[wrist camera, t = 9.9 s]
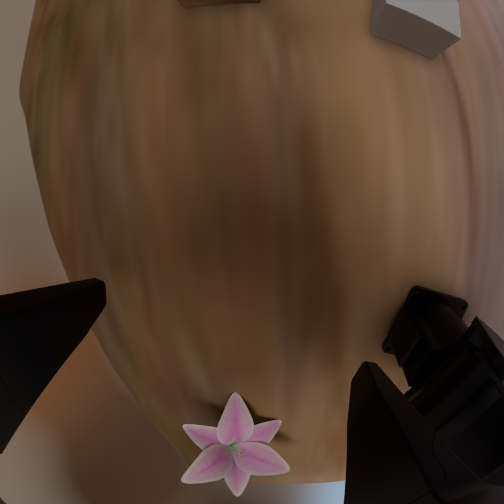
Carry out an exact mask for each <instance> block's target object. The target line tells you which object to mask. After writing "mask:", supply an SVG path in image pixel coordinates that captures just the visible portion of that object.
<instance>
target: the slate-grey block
mask: <svg viewBox="0 0 504 504" xmlns="http://www.w3.org/2000/svg"><path fill="white" fill-rule="evenodd" d="M370 34H371V35H374V36H377V37H380V38H383V39H385V40H388V41H391V42H393V43H396V44H398V45H401V46H403V47H405V48H408V49H410V50H412V51H414V52H417V53H419V54H421V55H423V56H425V57H427V58H429V59H433V58H434V57H435V56H437V55H438V54H440V53H441V52H442V51H444V50H445V49H447V48H448V47H450V46H451V45H453V44H454V43H455V42H457V41H458V40H460V39H461V29H460V16H459V7H458V0H373V10H372V19H371V27H370Z"/></svg>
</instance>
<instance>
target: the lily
mask: <svg viewBox="0 0 504 504" xmlns="http://www.w3.org/2000/svg"><path fill="white" fill-rule="evenodd" d="M281 423H282V421H281V420H273V421H268V422H264V423H260V424H257V425H254V423H253V419H252V417H251V415H250V412H249V410H248V408H247V406H246V404H245V403H244V401H243V399H242V398H241V396H240V395H239V394H237V393H235V392H234V393H233V394H232V395H231V397H230V398H229V400H228V403H227V405H226V407H225V409H224V412H223V414H222V417H221V419H220V421H219V424H218V427H217V428H215V427H210V426H202V425H192V424H185V425H183V429H184V430H185V432H186V433H187V434H188V436H189V437H190V438H191V439H192V440H193V441H194V442H195V444H196V445H197V446H199V447H200V448H201V449H202V450H203V452H202V453H201V454H200V455H199V456H198V458H197V459H196V460H195V461H194V462H193V464H192V465H191V466H190V467H189V468H188V470H187V471H186V472H185V474H184V475H183V477H182V478H181V481H182V482H183V483H190V484H192V483H204V482H211V481H215V480H219V479H222V478H224V479H225V481H226V483H227V485H228V486H229V488H230V489H231V491H232V492H233V494H234V495H235V496H240V495H241V494H242V492H243V490H244V489H245V487H246V485H247V483H248V480H249V477H250V474H251V475H258V476H267V475H278V474H283V473H287V472H288V471H290V467H289V466H288V464H287V463H286V462H285V461H284V459H283V458H282V457H281V456H280V455H279V454H278V453H276V452H275V451H274V450H273V449H272V448H270V447H269V446H267V445H268V443H269V442H270V441H271V440H272V439H273V437H274V436H275V434H276V433H277V431H278V429H279V428H280V426H281Z"/></svg>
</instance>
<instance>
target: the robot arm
mask: <svg viewBox="0 0 504 504" xmlns="http://www.w3.org/2000/svg"><path fill="white" fill-rule="evenodd" d="M417 291H419V292H418V294H415V293H416V292H417ZM463 305H464V306H463ZM105 306H106V287H105V283H104V282H103V281H101V280H99V279H97V278H92V279H86V280H81V281H75V282H70V283H65V284H59V285H53V286H48V287H43V288H37V289H32V290H26V291H21V292H16V293H12V294H5V295H0V454H2V453H3V451H4V449H5V448H6V446H7V444H8V443H9V441H10V440H11V437H12V436H13V435H14V433H15V432H16V430H17V428H18V427H19V425H20V424H21V422H22V421H23V419H24V418H25V416H26V415H27V413H28V412H29V410H30V409H31V407H32V406H33V404H34V403H35V401H36V400H37V399H38V397H39V396H40V395H41V393H42V392H43V390H44V389H45V388H46V386H47V385H48V384H49V382H50V381H51V379H52V378H53V377H54V375H55V374H56V373H57V372H58V370H59V369H60V368H61V366H62V365H63V364H64V362H65V361H66V360H67V359H68V357H69V356H70V355H71V354H72V352H73V351H74V350H75V349H76V347H77V346H78V345H79V344H80V342H81V341H82V340H83V339H84V337H85V336H86V334H87V333H88V331H89V330H90V328H91V327H92V325H93V324H94V322H95V321H96V319H97V318H98V317H99V315H100V314H101V312H102V311H103V309H104V308H105ZM462 306H463V307H462ZM467 307H468V303H467V302H466V301H465V300H463V299H460V298H457V297H453V296H450V295H447V294H443V293H440V292H437V291H433V290H430V289H427V288H423V287H420V286H415V287H413V288H412V290H411V292H410V294H409V296H408V298H407V300H406V302H405V304H404V306H403V308H402V309H401V310H400V311H399V313H398V315H397V317H396V319H395V321H394V323H393V325H392V327H391V329H390V330H389V332H388V336H387V338H386V340H385V342H384V343H383V345H382V349H383V352H384V353H389V354H394V355H395V356H396V359H397V362H398V365H399V367H402V368H403V371H404V374H405V377H406V380H407V383H408V386H410V387H412V388H411V389H410V390H408V391H407V392H406V393H405V394H404V395H403V394H402V392H401V391H400V390H399V389H398V388H397V387H396V385H395V384H394V383H393V382H392V381H391V380H390V379H389V377H388V376H387V375H386V374H385V373H384V372H383V371H382V369H381V368H380V367H379V366H378V365H377V364H376V363H374V362H368V361H365V362H363V363H362V364H361V366H360V368H359V369H358V371H357V372H356V374H355V376H354V377H353V379H352V382H351V389H350V401H349V410H348V420H347V461H346V482H345V496H344V504H504V341H503V340H502V339H501V338H500V337H499V336H498V335H497V334H496V333H495V332H494V331H493V330H492V329H491V328H489V327H488V326H487V325H486V324H485V323H484V322H483V321H482V320H480V319H479V318H478V317H477V316H476V317H475V318H474V319H473V321H472V322H471V323H472V324H471V325H470V327H469V328H468V327H467V325H466V324H465V323H464V321H463V320H462V317H463V315H464V313H465V311H466V309H467ZM388 346H390V347H388ZM386 347H388V348H386ZM0 504H6V503H5V502H4V501H3V500H2V499H1V498H0Z"/></svg>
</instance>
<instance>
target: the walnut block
mask: <svg viewBox="0 0 504 504" xmlns="http://www.w3.org/2000/svg"><path fill="white" fill-rule="evenodd" d="M178 1H179V2H180V3H181V4H182V5H183V6H184V7H185V8H188V7H195V6H204V5H214V4H229V3H260V0H178Z"/></svg>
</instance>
